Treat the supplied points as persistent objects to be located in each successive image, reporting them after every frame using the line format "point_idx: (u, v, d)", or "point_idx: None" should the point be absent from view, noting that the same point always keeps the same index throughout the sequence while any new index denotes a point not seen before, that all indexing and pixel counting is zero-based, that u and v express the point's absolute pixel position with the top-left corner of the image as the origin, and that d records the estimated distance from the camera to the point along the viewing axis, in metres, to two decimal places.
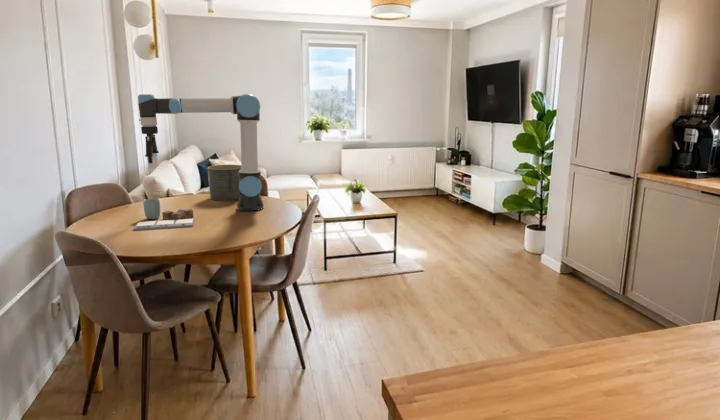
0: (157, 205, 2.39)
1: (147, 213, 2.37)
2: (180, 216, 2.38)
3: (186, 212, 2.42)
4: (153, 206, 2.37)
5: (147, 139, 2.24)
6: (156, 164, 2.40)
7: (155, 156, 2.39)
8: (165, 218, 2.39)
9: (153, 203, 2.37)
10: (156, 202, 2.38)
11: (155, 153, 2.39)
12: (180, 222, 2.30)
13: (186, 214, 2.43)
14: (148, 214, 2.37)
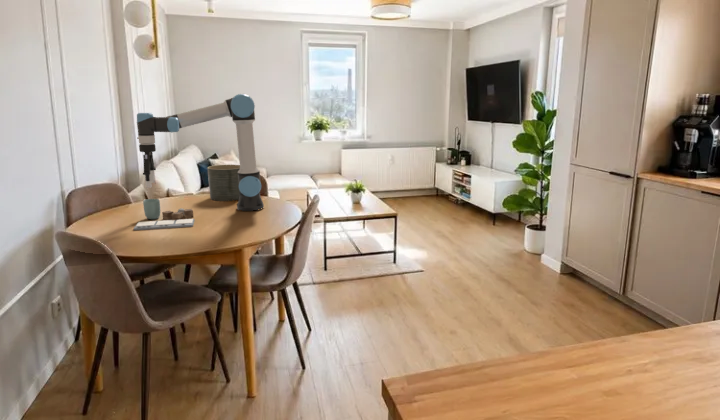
0: (157, 205, 2.39)
1: (147, 213, 2.37)
2: (180, 216, 2.38)
3: (186, 212, 2.42)
4: (153, 206, 2.37)
5: (145, 157, 2.26)
6: (153, 181, 2.42)
7: (152, 173, 2.41)
8: (165, 218, 2.39)
9: (153, 203, 2.37)
10: (156, 202, 2.38)
11: (152, 170, 2.41)
12: (180, 222, 2.30)
13: (186, 214, 2.43)
14: (148, 214, 2.37)
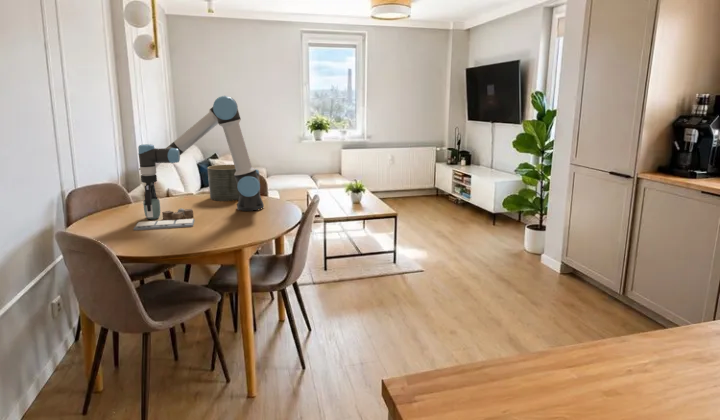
0: (157, 205, 2.39)
1: None
2: (180, 216, 2.38)
3: (186, 212, 2.42)
4: (153, 206, 2.37)
5: (146, 188, 2.31)
6: None
7: None
8: (165, 218, 2.39)
9: (153, 203, 2.37)
10: (156, 202, 2.38)
11: None
12: (180, 222, 2.30)
13: (186, 214, 2.43)
14: None
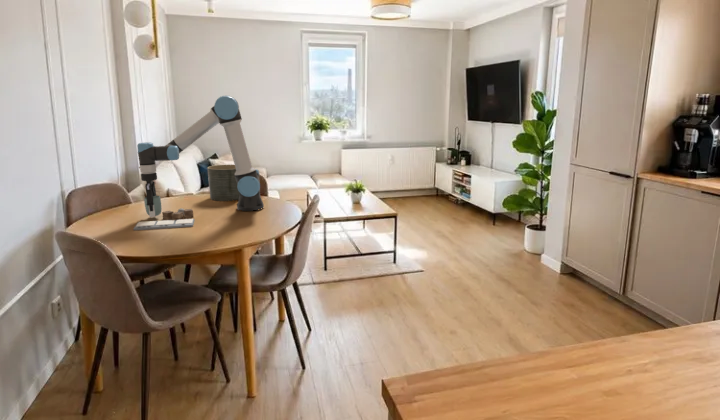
0: (158, 202, 2.38)
1: (148, 210, 2.37)
2: (180, 216, 2.38)
3: (186, 212, 2.42)
4: (154, 203, 2.37)
5: (147, 188, 2.31)
6: None
7: None
8: (165, 218, 2.39)
9: (154, 200, 2.36)
10: (157, 199, 2.38)
11: None
12: (180, 222, 2.30)
13: (186, 214, 2.43)
14: None
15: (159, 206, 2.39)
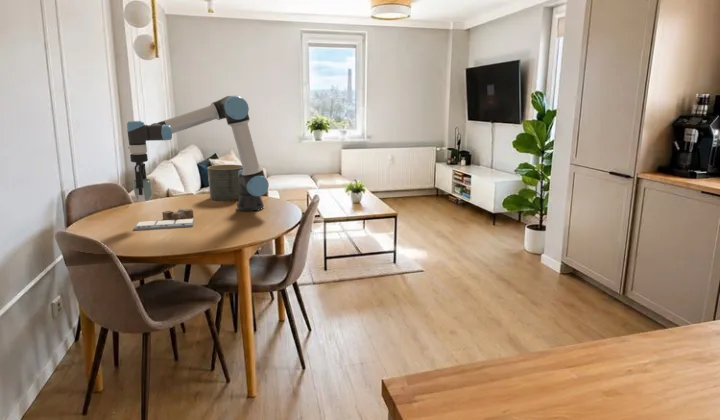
0: (148, 185, 2.22)
1: (137, 194, 2.20)
2: (180, 216, 2.38)
3: (186, 212, 2.42)
4: (143, 186, 2.20)
5: (136, 170, 2.15)
6: None
7: None
8: (165, 218, 2.39)
9: (144, 183, 2.20)
10: (147, 182, 2.21)
11: None
12: (180, 222, 2.30)
13: (186, 214, 2.43)
14: None
15: (149, 190, 2.23)
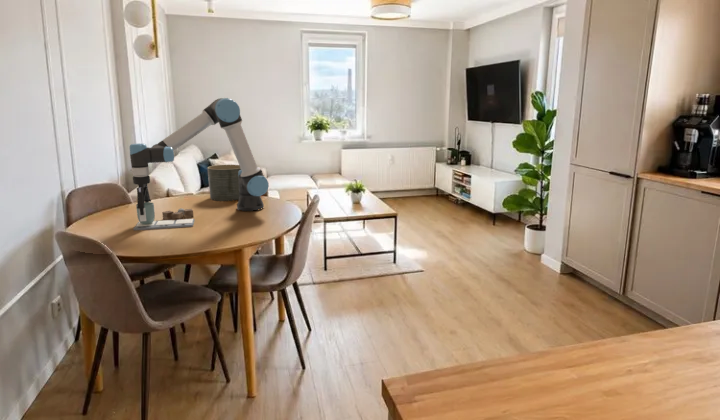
0: (151, 209, 2.25)
1: None
2: (180, 216, 2.38)
3: (186, 212, 2.42)
4: (146, 210, 2.23)
5: (139, 191, 2.17)
6: None
7: None
8: (165, 218, 2.39)
9: (147, 207, 2.23)
10: (150, 206, 2.24)
11: None
12: (180, 222, 2.30)
13: (186, 214, 2.43)
14: None
15: (152, 213, 2.26)
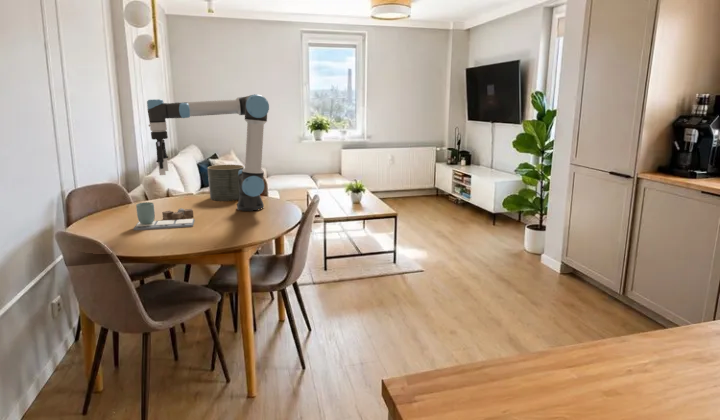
0: (151, 209, 2.25)
1: (140, 218, 2.23)
2: (180, 216, 2.38)
3: (186, 212, 2.42)
4: (146, 210, 2.23)
5: (158, 144, 2.22)
6: (166, 169, 2.38)
7: (165, 161, 2.37)
8: (165, 218, 2.39)
9: (147, 207, 2.23)
10: (150, 206, 2.24)
11: (165, 158, 2.37)
12: (180, 222, 2.30)
13: (186, 214, 2.43)
14: (141, 218, 2.23)
15: (152, 214, 2.26)
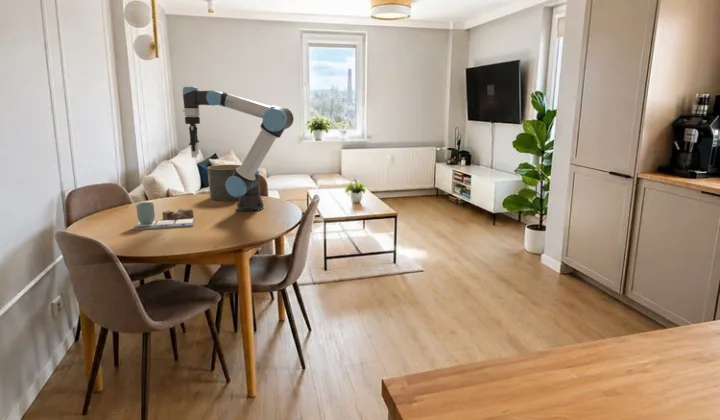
0: (151, 209, 2.25)
1: (140, 218, 2.23)
2: (180, 216, 2.38)
3: (186, 212, 2.42)
4: (146, 210, 2.23)
5: (191, 129, 2.39)
6: (196, 153, 2.55)
7: (196, 145, 2.54)
8: (165, 218, 2.39)
9: (147, 207, 2.23)
10: (150, 206, 2.24)
11: (196, 142, 2.54)
12: (180, 222, 2.30)
13: (186, 214, 2.43)
14: (141, 218, 2.23)
15: (152, 214, 2.26)
